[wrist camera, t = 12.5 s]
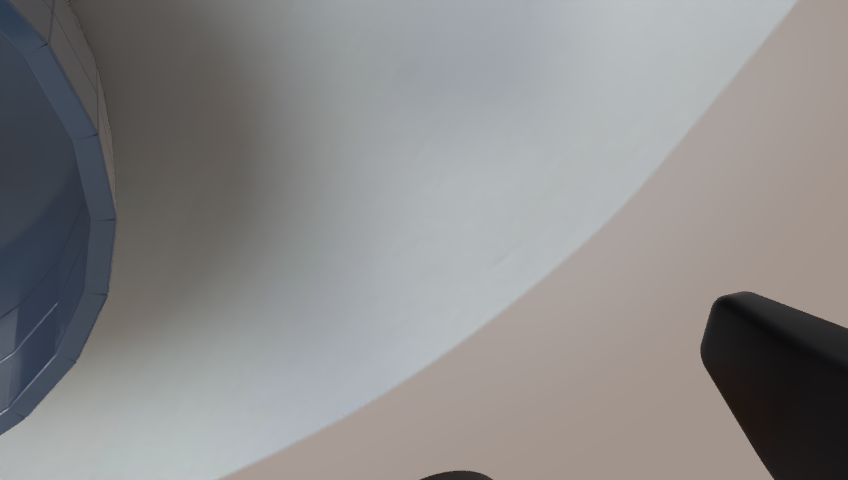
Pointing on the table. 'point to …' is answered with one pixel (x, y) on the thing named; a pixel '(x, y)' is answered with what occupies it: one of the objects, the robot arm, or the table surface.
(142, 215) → the table surface
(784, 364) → the robot arm
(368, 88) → the table surface
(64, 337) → the bowl
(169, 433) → the table surface
